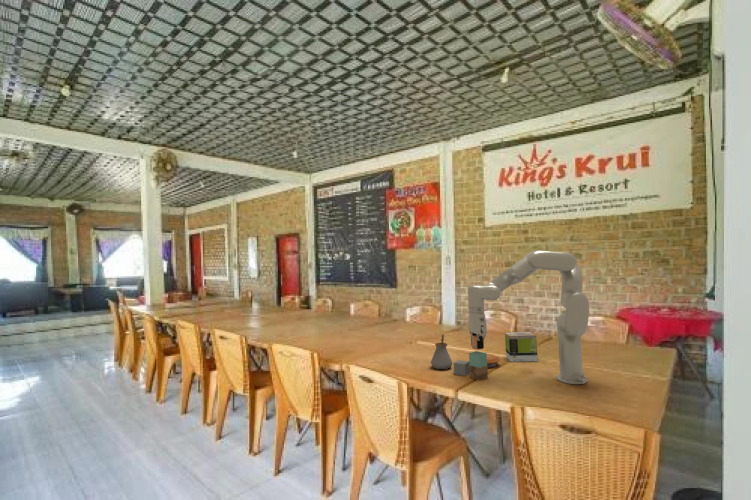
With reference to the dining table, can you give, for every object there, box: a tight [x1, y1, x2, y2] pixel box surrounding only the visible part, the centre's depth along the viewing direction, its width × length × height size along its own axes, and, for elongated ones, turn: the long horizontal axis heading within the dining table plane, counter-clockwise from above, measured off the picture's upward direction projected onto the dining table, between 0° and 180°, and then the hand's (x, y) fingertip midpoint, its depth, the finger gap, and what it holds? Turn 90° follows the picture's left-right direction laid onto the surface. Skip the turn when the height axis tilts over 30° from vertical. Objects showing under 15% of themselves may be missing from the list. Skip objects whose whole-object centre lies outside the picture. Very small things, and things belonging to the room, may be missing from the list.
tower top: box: [468, 350, 488, 368], centre depth 185 cm, size 6×6×6 cm
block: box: [453, 359, 470, 377], centre depth 191 cm, size 6×6×6 cm
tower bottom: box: [469, 366, 489, 381], centre depth 185 cm, size 6×6×6 cm
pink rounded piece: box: [471, 335, 481, 350], centre depth 185 cm, size 5×5×6 cm
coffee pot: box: [430, 334, 453, 370], centre depth 207 cm, size 21×12×15 cm, turn 165°
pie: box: [487, 353, 501, 369], centre depth 206 cm, size 16×16×5 cm
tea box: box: [504, 331, 539, 363], centre depth 214 cm, size 15×10×15 cm
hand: (477, 346), depth 185 cm, fingers closed on pink rounded piece, 5 cm apart
